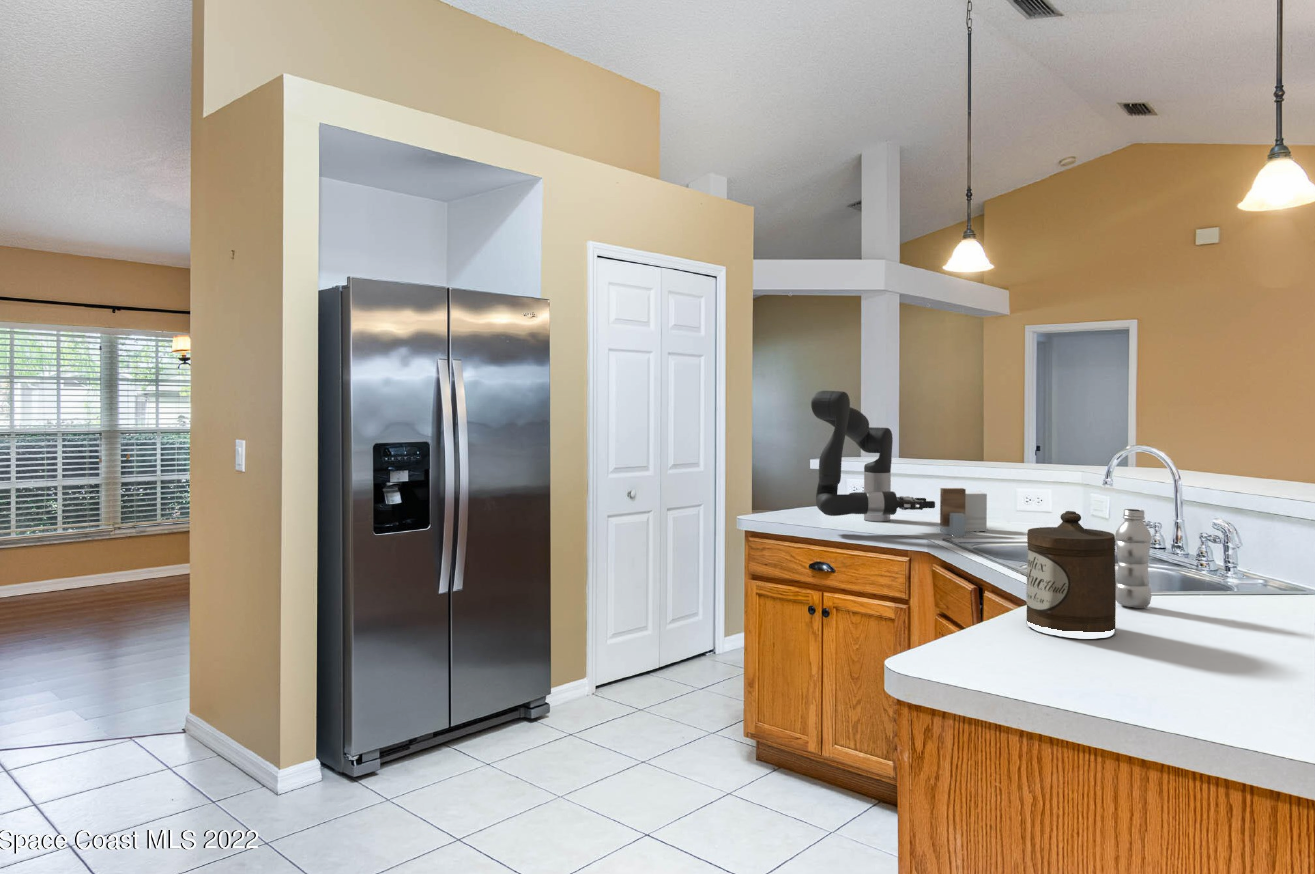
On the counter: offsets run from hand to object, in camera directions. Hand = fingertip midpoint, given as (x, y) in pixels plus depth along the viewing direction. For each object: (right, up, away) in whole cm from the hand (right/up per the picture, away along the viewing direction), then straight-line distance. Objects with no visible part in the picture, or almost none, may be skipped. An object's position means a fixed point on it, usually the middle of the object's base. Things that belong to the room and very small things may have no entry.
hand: (930, 502), depth 265 cm
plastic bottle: (+10, -14, -96) cm, 97 cm away
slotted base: (+7, -10, 0) cm, 12 cm away
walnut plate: (+7, -7, 0) cm, 10 cm away
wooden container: (-11, -15, -112) cm, 113 cm away
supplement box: (+16, -10, +7) cm, 20 cm away
